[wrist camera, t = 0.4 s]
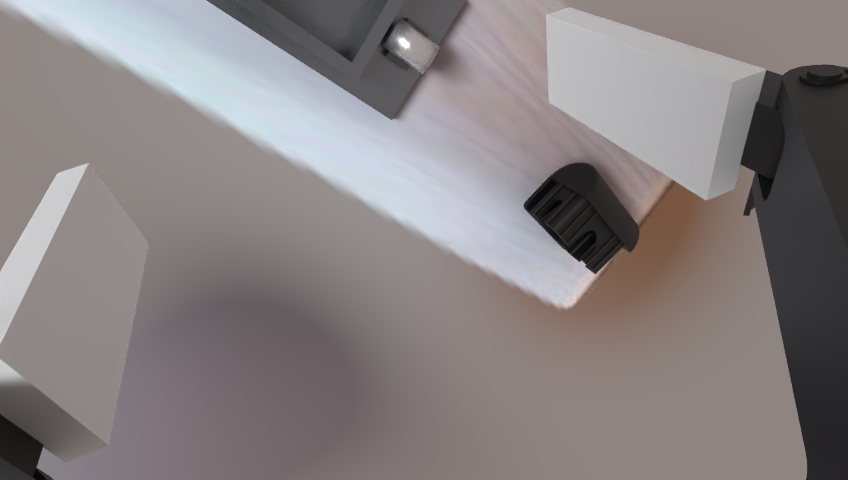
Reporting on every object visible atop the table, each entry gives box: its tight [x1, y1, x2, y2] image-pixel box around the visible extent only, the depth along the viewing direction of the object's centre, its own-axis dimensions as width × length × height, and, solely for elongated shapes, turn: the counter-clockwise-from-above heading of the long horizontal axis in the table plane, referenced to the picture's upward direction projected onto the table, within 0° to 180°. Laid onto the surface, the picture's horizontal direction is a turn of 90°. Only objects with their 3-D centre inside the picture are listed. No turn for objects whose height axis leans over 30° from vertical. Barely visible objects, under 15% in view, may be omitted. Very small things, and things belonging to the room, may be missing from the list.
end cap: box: [524, 163, 639, 274], centre depth 50 cm, size 10×7×7 cm
